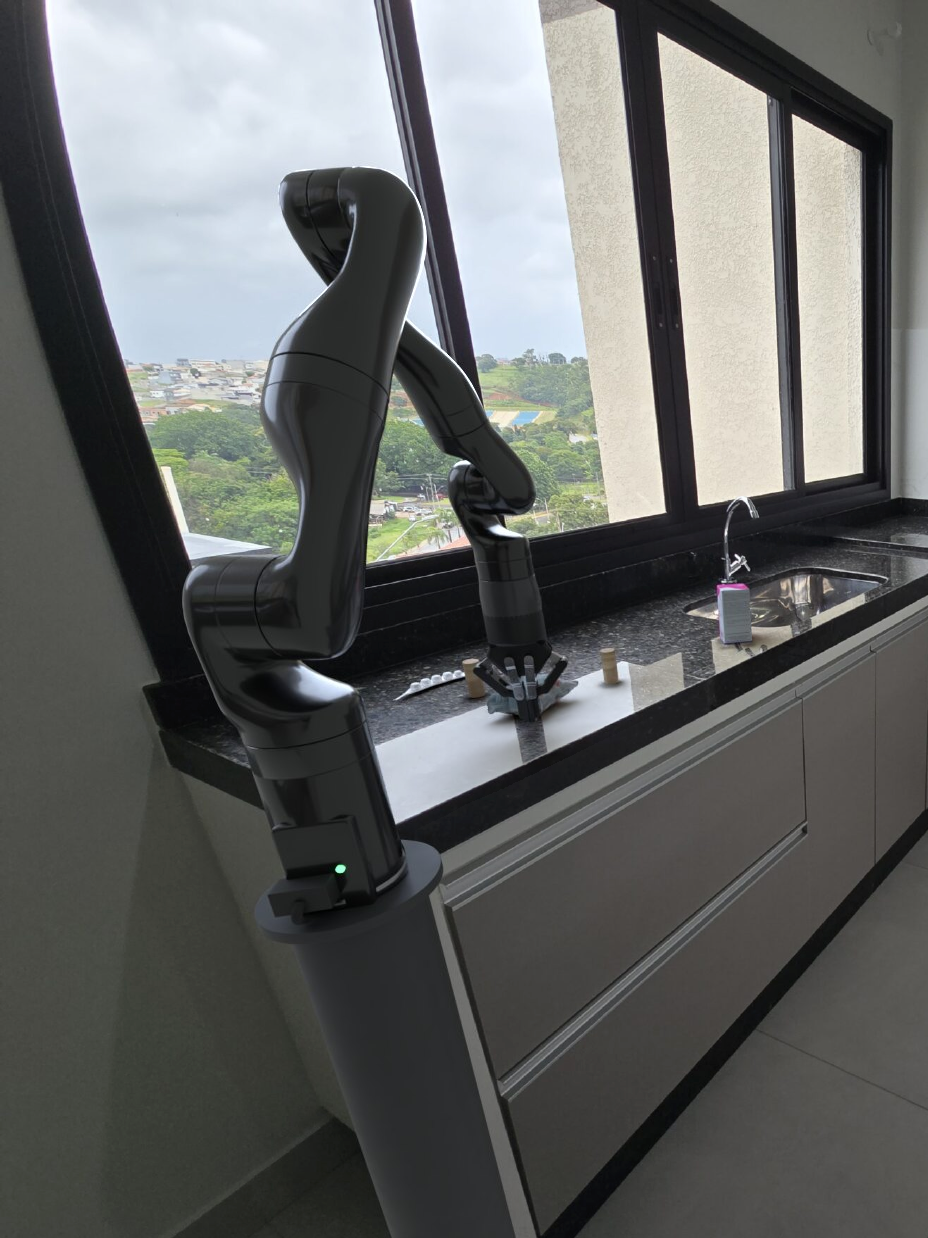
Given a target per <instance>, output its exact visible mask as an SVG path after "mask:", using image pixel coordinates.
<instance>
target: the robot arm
mask: <svg viewBox="0 0 928 1238" xmlns="http://www.w3.org/2000/svg"><path fill="white" fill-rule="evenodd" d="M277 195H278V205H279V208H280V212H281V216H282V219H283V220H284V223H285V226H286V227H287V229H288V231H289V233H290V235H291V237H292V239H293V241H294V242H295V244H296V245H297V247H298V249H299V250H300V251H301V253H302V254H303V256H304V257H305V259H306V260H307V262H308V263H309V264H310V266H311V267H312V269H313V270H314V271H315V273H316V274H317V275H318V276H319V278H320V279H321V281H322V282H323V283H324V285H325V286H326V289H325V290H323V292H322V293H321V294H320V295H319V296H317V298H315V299H314V300H313V301H312V302H311V303H310V304H308V305H307V307H306V308H305V309H303V311H302V312H301V313H300V314H299V315H298V316H297V317H296V318H295V319H294V320H293V321H292V322H291V323H290V324H289V325H288V327H287V328H286V329H285V330H284V331H283V332H282V334H281V335H280V336H279V338H278V339H277V341H276V342H275V345H274V347H273V349H272V352H271V354H270V358H269V360H268V364H267V369H266V372H265V377H264V381H263V386H262V389H261V394H260V402H259V418H260V422H261V426H262V429H263V431H264V434H265V436H266V438H267V440H268V442H269V444H270V446H271V448H272V450H273V452H274V453H275V455H276V457H277V459H278V460H279V462H280V464H281V465H282V467H283V468H284V470H285V472H286V474H287V475H288V477H289V479H290V481H291V483H292V485H293V487H294V490H295V492H296V496H297V502H298V518H297V525H296V526H297V527H296V533H295V538H294V542H293V545H292V547H291V550H290V551H289V553H288V554H283V553H282V554H281V553H280V554H275V553H273V554H266V553H265V554H262V553H261V554H260V553H259V554H258V553H256V554H248V553H247V554H244V553H243V554H221V555H214V556H211V557H207V558H205V559H203V560H201V561H199V562H198V563H197V564H195V565H194V566H193V568H191V570H190V571H189V573H188V575H187V576H186V579H185V582H184V584H183V589H182V601H181V603H182V610H183V618H184V622H185V625H186V629H187V633H188V635H189V638H190V641H191V643H192V646H193V648H194V650H195V653H196V655H197V658H198V660H199V662H200V664H201V668H202V669H203V672H204V674H205V677H206V679H207V681H208V684H209V686H210V689H211V691H212V693H213V696H214V699H215V701H216V703H217V705H218V706H217V707H219V709H220V711H221V712H222V714H223V716H225V718H226V719H227V720H228V721H229V722H230V723H231V724H233V726H234V727H235V729H236V730H237V731H238V733H239V737H240V740H241V742H242V746H243V748H244V751H245V754H246V758H247V760H248V763H249V764H248V765H249V766H250V769H251V773H252V776H253V779H254V782H255V785H256V788H257V792H258V794H259V797H260V801H261V804H262V807H263V810H264V813H265V816H266V818H267V821H268V824H269V827H270V835H271V838H272V841H273V844H274V848H275V850H276V853H277V857H278V859H279V862H280V863H279V864H280V866H281V868H282V872H283V874H284V875H283V876H285V879H281V878H279V879H278V880H276V882H277V883H276V884H275V885H274V887H273V888H272V889H271V891H270V892H269V893H268V895H267V896H268V899H269V902H270V905H271V907H272V910H273V913H274V916H275V918H276V917H282V916H288V915H291V921H292V923H293V924H294V925H302V924H306V923H308V922H309V921H311V916H310V915H312V914H318V913H324V912H330V911H337V910H343V909H349V908H355V907H361V906H367V905H372V904H374V903H375V901H376V899H377V898H378V897H379V896H381V895H382V894H384V893H386V892H388V891H389V890H391V889H392V888H393V887H395V886H396V885H397V884H398V883H399V882H400V881H401V880H402V879H403V878H404V877H405V875H406V873H407V871H408V865H407V861H406V857H405V855H406V853H405V849H404V846H403V844H402V842H401V840H402V839H401V838H400V836H399V831H398V827H397V824H396V821H395V817H394V813H393V809H392V805H391V801H390V798H389V794H388V790H387V787H386V782H385V779H384V775H383V772H382V768H381V764H380V760H379V757H378V753H377V747H376V745H375V740H374V736H373V732H372V728H371V725H370V721H369V717H368V712H367V709H366V706H365V701H364V697H363V696H362V694H361V692H360V691H359V690H358V689H357V688H356V687H355V686H353V685H351V684H349V683H346V682H343V681H340V680H338V679H335V678H332V677H329V676H326V675H324V674H322V673H320V672H318V671H316V670H314V669H312V668H311V667H309V666H308V665H307V664H305V663H304V662H303V661H323V660H331V659H335V658H337V657H339V656H341V655H343V654H345V653H346V652H347V651H348V650H349V648H351V647H352V645H353V643H354V642H355V640H356V638H357V635H358V633H359V630H360V627H361V623H362V622H361V621H362V617H363V612H364V606H365V595H366V594H365V593H366V580H367V578H366V577H367V559H368V557H367V556H368V555H367V554H368V540H369V526H370V524H369V523H370V515H371V506H372V498H373V493H374V492H373V491H374V486H375V479H376V475H377V474H376V473H377V467H378V461H379V456H380V452H381V447H382V444H383V438H384V435H385V430H386V425H387V419H388V414H389V408H390V402H391V393H392V383H393V377H395V378H396V380H397V381H398V383H399V384H400V386H401V387H402V389H403V391H404V393H405V394H406V396H407V397H408V400H409V401H410V403H411V404H412V407H413V408H414V410H415V412H416V413H417V415H418V417H419V419H420V420H421V422H422V424H423V426H424V428H425V430H426V432H427V433H428V435H429V437H430V438H431V440H432V441H433V444H434V445H435V446H436V447H437V448H438V450H439V451H441V452H442V453H443V454H445V455H448V456H451V457H454V458H458V459H461V460H462V461H459V462H456V463H455V464H454V465H452V467H451V468H450V469H449V471H448V474H447V478H446V493H447V498H448V501H449V504H450V506H451V508H452V511H453V512H454V514H455V516H456V518H457V520H458V521H459V524H460V527H461V528H462V530H463V533H464V535H465V537H466V538H467V541H468V542H469V544H470V547H471V548H472V550H473V556H474V563H475V568H476V573H477V578H478V594H479V601H480V607H481V612H482V617H483V623H484V628H485V633H486V639H487V644H488V647H487V651H486V654H485V655H486V657H485V658H483V660H481V661H479V662H478V663H477V664H476V666H475V667H474V669H473V673H474V674H475V675H476V676H478V677H479V678H480V679H481V680H483V683H484V684H486V685H487V686H488V687H490V689H492V690H494V692H495V693H496V692H497V693H498V694H500V695H501V696H502V697H511V698H514V699H515V700H516V702H517V707H518V713H519V715H518V717H519V718H520V720H523V721H524V723H525V724H528V723H537V721H538V719H539V718H540V717H541V715H542V713H541V705H540V699H539V696H540V695H542V694H547V693H549V691H550V690H551V688H552V687H553V685H554V684H555V683H556V681H557V680H558V678H560V677H561V676H562V674H563V673H564V671H565V669H566V668H567V667H568V665H569V661H570V658H569V656H567V655H566V654H565V655H564V654H563V655H562V654H559V653H557V652H556V651H553V646H552V644H550V641H549V639H548V637H547V630H546V624H545V617H544V612H543V606H542V605H543V600H542V599H543V598H542V596H541V593H540V592H541V591H540V588H539V585H538V582H537V579H536V574H535V568H534V561H533V554H532V548H531V544H530V541H529V539H528V537H527V536H526V535H524V534H523V533H520V532H517V531H514V530H510V529H508V528H506V527H504V526H503V525H502V523H501V522H500V520H499V518H498V516H505V517H506V516H507V517H514V516H515V517H517V516H522V515H525V514H527V513H529V511H531V509H532V508H533V507H534V504H535V502H536V497H537V489H536V484H535V481H534V478H533V476H532V473H531V471H530V470H529V468H528V467H527V465H526V464H525V462H523V460H522V458H520V456H519V455H518V454H517V453H516V452H515V451H514V449H513V448H512V446H510V444H509V442H507V441H506V440H505V438H504V437H503V436H502V434H500V433H499V432H498V430H496V429H495V427H494V426H493V424H492V423H491V421H490V418H489V416H488V415H487V412H486V410H485V407H484V406H483V404H482V402H481V400H480V397H479V396H478V394H477V391H476V390H475V388H474V385H473V384H472V382H471V381H470V379H469V378H468V376H467V374H466V373H465V372H464V371H463V369H462V368H461V367H460V365H458V364H457V363H456V361H454V359H453V358H452V357H451V356H450V355H448V354H447V352H445V351H444V350H443V349H442V348H441V347H440V346H438V344H436V343H435V342H434V341H433V340H431V338H429V337H428V336H426V335H425V333H424V332H422V331H421V330H420V329H419V328H418V327H417V326H416V325H415V324H414V323H412V322H411V321H410V320H409V319H408V318H407V315H408V312H409V309H410V306H411V303H412V301H413V297H414V294H415V291H416V288H417V285H418V283H419V280H420V276H421V274H422V270H423V266H424V262H425V258H426V250H427V228H426V222H425V218H424V214H423V210H422V208H421V207H422V206H421V205H420V202H419V200H418V198H417V196H416V195H415V193H414V191H413V190H412V188H411V187H410V186H409V185H408V184H407V183H406V181H405V180H403V179H402V178H401V177H400V176H398V175H397V174H395V173H394V172H392V171H389V170H387V169H384V168H380V167H379V168H378V167H373V166H343V167H341V166H340V167H326V168H311V169H309V168H308V169H300V170H295V171H291V172H288V173H287V174H285V175H284V176H283V177H282V179H281V181H280V183H279V185H278V193H277ZM548 660H550V663H549V667H550V668H551V670H550V672H549V673H548V674H549V675H548V676H547V678H546V679H545V680H544V682H543V683H541V684H538V675H539V674H540V673H541V672H542V671H543V668H544V667H545V666H546V664H547V663H548ZM495 667H496V669H498V670H499V671H500V672H501V673H502V674H504V675H505V676H506V677H508V680H509V682H508V681H506V679H504V678H503V677H502V676H501V675H499V674H498V672H496V671H495ZM524 676H526V684H527V692H528V695H526V687H525V683H524ZM510 684H511V685H510ZM402 848H403V850H402ZM403 851H404V853H405V855H404V853H403Z"/></svg>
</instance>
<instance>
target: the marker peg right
mask: <svg viewBox="0 0 928 1238" xmlns="http://www.w3.org/2000/svg"><path fill="white" fill-rule="evenodd" d="M599 654H600V660H601V668H602V669H601V670H602V677H603V683H604V685H615V684H618V683H619V682H620V678H619V671H618V670H619V669H618V663H617V656H616V654H617V653H616V649H615V648H612V647H606V648H602V649H600V650H599Z"/></svg>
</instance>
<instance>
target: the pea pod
mask: <svg viewBox="0 0 928 1238" xmlns="http://www.w3.org/2000/svg"><path fill="white" fill-rule="evenodd" d="M461 678H465V674H464V671H462V670H459V669H458V670H455V671H453V673H452V671H446V672H445V671H444V672H443V673H442V675H440V674H434V675H432V676H431V678H428V677H427V678H426V677H425V678H422V679H421V680H420V682H412V683H410V685H409V688H408V689H407V690H406V691H405V692H404V693H403V694H401V695H400V696H398V697H397V698H395V699H394V701H395V702H396V701H399V700H401V699H402V698H405V697H406V696H408V695H412V694H415V693H417V692H420V691H423V690H425V689H428V688H430V687H433V686H434V687H435V686H437V685H440V684H443V683H447V682H450V681H453V680H458V679H461Z"/></svg>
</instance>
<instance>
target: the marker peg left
mask: <svg viewBox="0 0 928 1238" xmlns="http://www.w3.org/2000/svg"><path fill="white" fill-rule="evenodd" d="M478 662H480V659H478V658H470V659H469V658H468V659H465V660H463V661H462V668H463V672H464V674H465V677H464V679H465V683H466V688H467V694H468V697H469V698H471V699H477V698H481V697H484V696H485V695H486V689H485V682H484V681H483V680H481V679H480V678H479V677H478V676H476V675H475V674H474V673H473V669H474V667H475V666H476V664H477V663H478Z"/></svg>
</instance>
